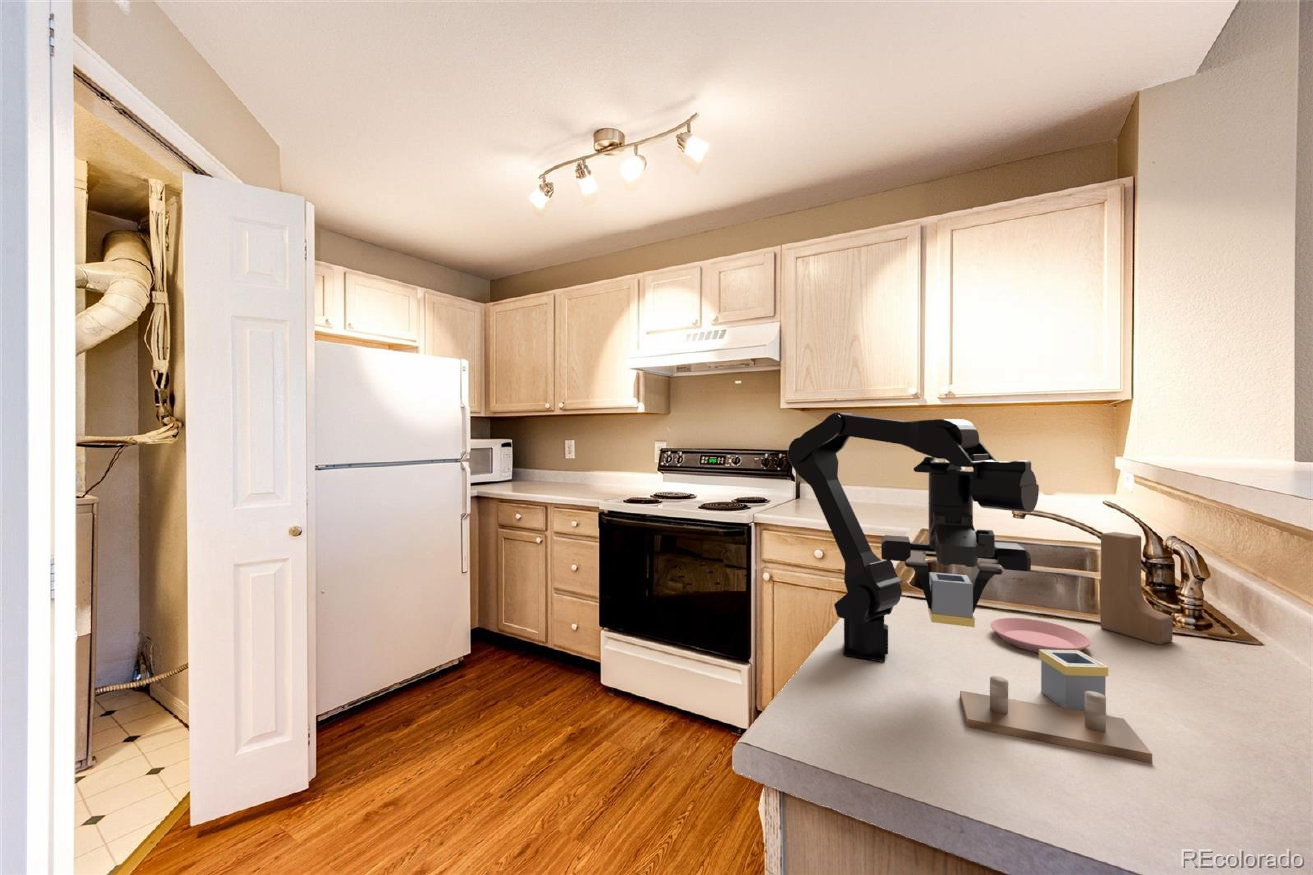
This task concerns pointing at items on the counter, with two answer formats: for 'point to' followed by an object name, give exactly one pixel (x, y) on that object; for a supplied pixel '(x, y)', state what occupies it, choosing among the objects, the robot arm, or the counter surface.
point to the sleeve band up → (1070, 677)
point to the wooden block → (1128, 592)
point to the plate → (1039, 635)
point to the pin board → (1053, 722)
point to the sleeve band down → (951, 599)
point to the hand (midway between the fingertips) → (950, 610)
